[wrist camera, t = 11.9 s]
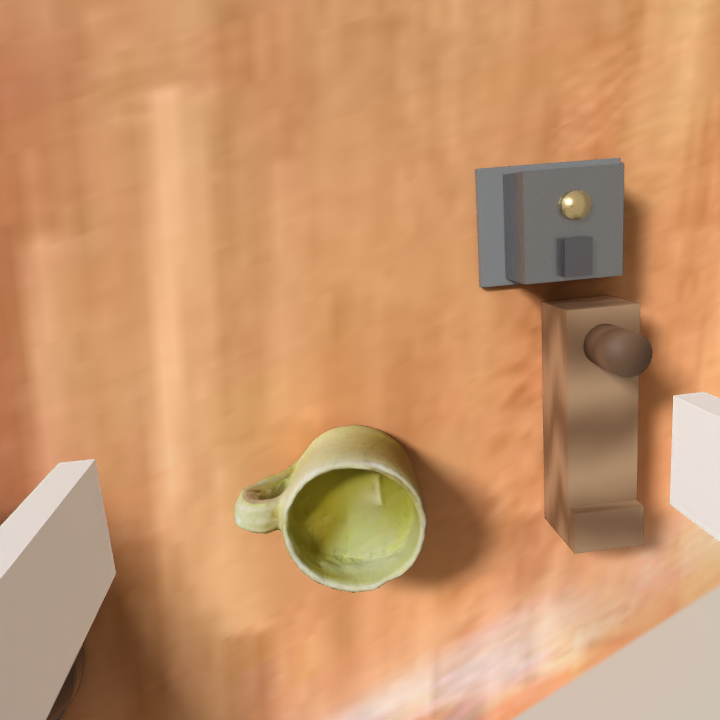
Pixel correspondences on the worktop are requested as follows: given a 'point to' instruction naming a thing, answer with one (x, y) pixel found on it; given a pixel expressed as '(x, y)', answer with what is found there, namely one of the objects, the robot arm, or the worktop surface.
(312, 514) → the mug
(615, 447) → the plane body
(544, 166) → the mat
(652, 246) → the worktop surface
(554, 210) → the lever cap
